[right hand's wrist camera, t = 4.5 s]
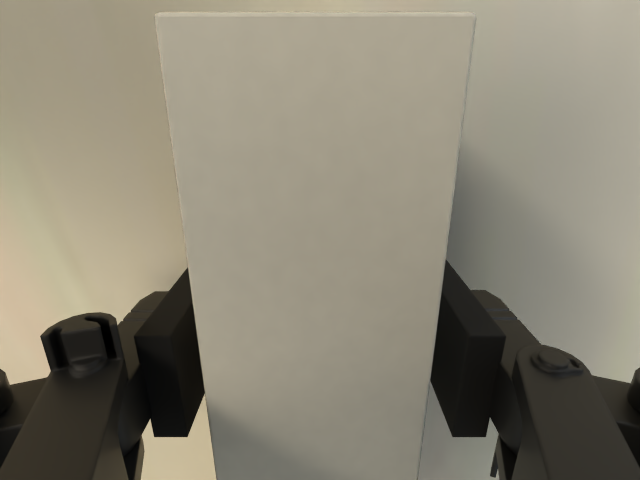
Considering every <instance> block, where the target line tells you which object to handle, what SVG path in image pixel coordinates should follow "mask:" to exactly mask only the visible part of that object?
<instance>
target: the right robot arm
mask: <svg viewBox="0 0 640 480" xmlns="http://www.w3.org/2000/svg"><path fill="white" fill-rule="evenodd" d="M40 337H41V340H42V343H43V347H44V350H45V353H46V356H47V360H48V363H49V366H50V369H51V372H50V374H49V376H48V377H46V378H42V379H37V380H32V381H28V382H23V383H18V384H13V385H10V384H9V382H8V379H7V376H6V373H5V372H4V371H3V370H1V369H0V480H141V472H142V465H143V458H144V445H143V439H142V433H143V431H144V429H145V427H146V425H147V424H148V422H149V420H150V419H151V423H152V428H153V433H154V437H188V434H189V432H190V429H191V426H192V424H193V421H194V419H195V416H196V414H197V411H198V409H199V406H200V404H201V401H202V399H203V396H204V393H205V390H204V382H203V375H202V367H201V360H200V353H199V345H198V338H197V330H196V323H195V316H194V308H193V301H192V293H191V286H190V278H189V271H188V268H187V269H186V270H185V272H184V273H183V274H182V275H181V277H180V278H179V279H178V280H177V282H176V283H175V284H174V286H173V287H172V288H171V289H170V291H155V292H153V293H152V294H150V295H148V296H147V297H145V298H143V299H141V300H140V301H139V302H138V303H137V304H136V306H135V307H134V308H133V309H132V310H131V313H128V314H127V316H126V317H125V318H124V319H123V321H121V322H120V323H119V324H118V326H117V321H116V318H115V317H113V316H112V315H111V314H106V313H101V312H99V313H86V314H82V315H77V316H73V317H70V318H68V319H65V320H62V321H60V322H58V323H56V324H55V325H53V326H51V327H50V328H48V329H47V330H46V331H45V332H44V333H43V334H42V335H41V336H40ZM430 381H431V383H432V386H433V388H434V391H435V393H436V396H437V398H438V401H439V404H440V406H441V409H442V411H443V414H444V416H445V419H446V421H447V424H448V426H449V429H450V432H451V434H452V437H486V433H487V428H488V423H489V419H490V418H491V420H492V422H493V423H494V425H495V427H496V429H497V431H498V433H499V435H498V439H497V444H496V449H495V453H494V458H493V462H492V467H491V473H490V476H491V477H495V478H496V473H497V469H498V472H499V479H500V480H640V368H638V369H637V370H636V371H635V373H634V376H633V379H632V382H631V383H626V382H621V381H616V380H611V379H606V378H601V377H597V376H593V375H591V373H590V371H589V370H588V369H587V367H586V366H585V365H584V364H583V363H582V362H581V361H580V360H578V359H577V358H575V357H574V356H572V355H571V354H569V353H566V352H564V351H562V350H560V349H557V348H553V347H549V346H545V345H541V344H540V343H539V341H538V340H537V339H536V338H535V337H534V336H533V335H532V334H531V333H530V332H529V330H528V329H527V328H526V327H525V326H524V325H523V324H522V323H521V322H520V320H517V317H516V316H515V315H514V314H513V313H512V312H511V311H509V308H508V307H507V306H506V305H505V304H504V303H503V302H502V301H501V299H499V298H498V297H496V296H494V295H492V294H491V293H489V292H487V291H486V290H470V289H469V288H468V287H467V286H466V284H465V283H464V282H463V280H462V279H461V278H460V277H459V275H458V274H457V273H456V272H455V270H454V269H453V268H452V267H451V265H450V264H449V263H448V261H447V260H445V268H444V276H443V284H442V291H441V299H440V307H439V315H438V323H437V331H436V339H435V346H434V354H433V362H432V370H431V378H430Z"/></svg>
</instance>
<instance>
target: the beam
mask: <svg viewBox="0 0 640 480" xmlns="http://www.w3.org/2000/svg"><path fill="white" fill-rule="evenodd" d="M154 19H155V27H156V34H157V41H158V49H159V56H160V64H161V71H162V78H163V86H164V93H165V101H166V108H167V115H168V123H169V130H170V138H171V145H172V152H173V160H174V167H175V175H176V182H177V190H178V197H179V204H180V212H181V219H182V227H183V234H184V241H185V249H186V256H187V264H188V271H189V278H190V286H191V293H192V301H193V308H194V316H195V323H196V330H197V338H198V345H199V353H200V360H201V367H202V375H203V382H204V390H205V397H206V404H207V412H208V419H209V427H210V434H211V441H212V449H213V456H214V464H215V471H216V479H217V480H418V472H419V464H420V456H421V448H422V441H423V433H424V425H425V417H426V409H427V401H428V394H429V386H430V378H431V370H432V362H433V354H434V346H435V339H436V331H437V323H438V315H439V307H440V299H441V291H442V284H443V276H444V268H445V260H446V252H447V244H448V236H449V229H450V221H451V213H452V205H453V197H454V189H455V181H456V174H457V166H458V158H459V150H460V142H461V134H462V127H463V119H464V111H465V103H466V95H467V87H468V79H469V72H470V64H471V56H472V48H473V40H474V32H475V24H476V14H475V13H473V12H158V13H156V14H155V17H154Z"/></svg>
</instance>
